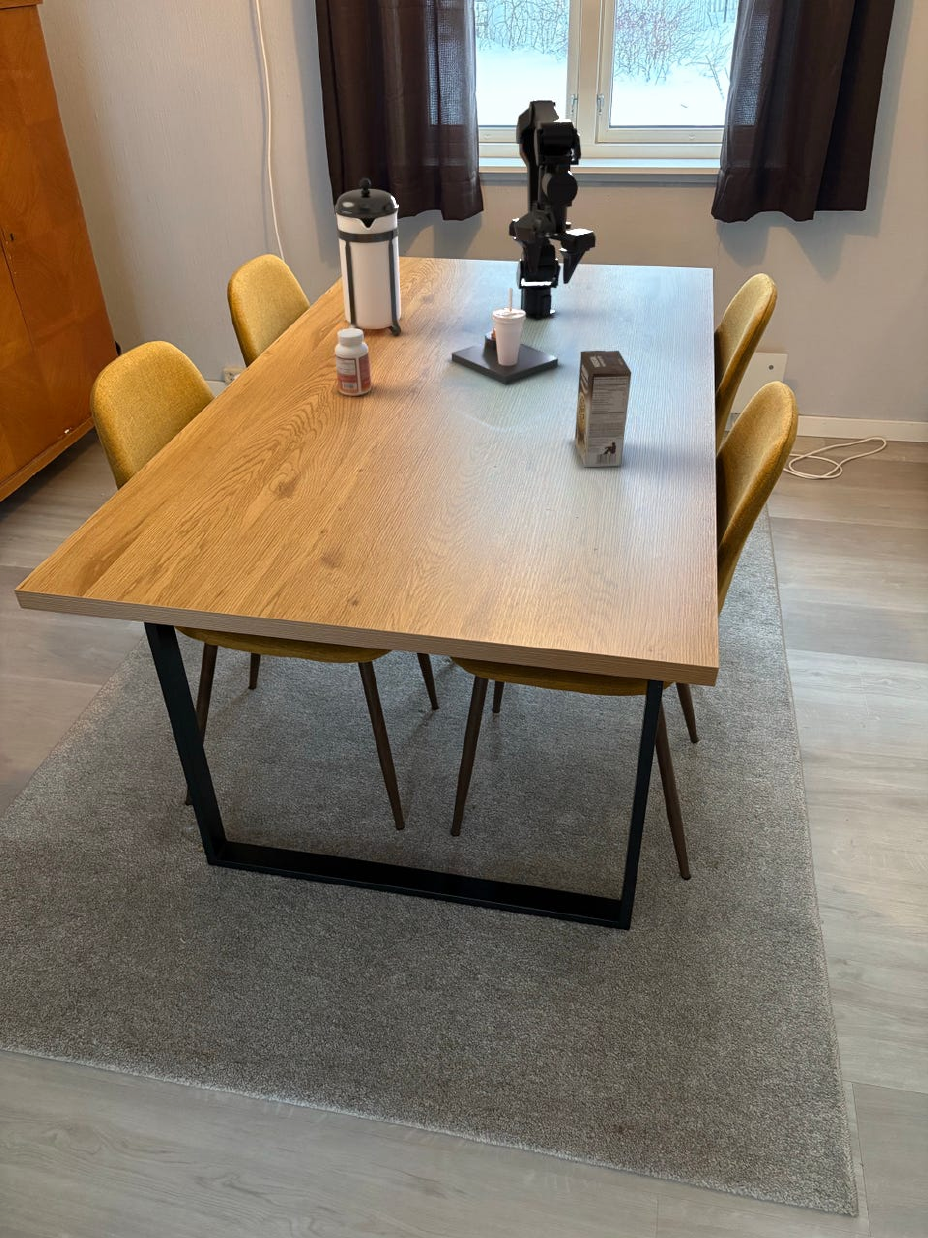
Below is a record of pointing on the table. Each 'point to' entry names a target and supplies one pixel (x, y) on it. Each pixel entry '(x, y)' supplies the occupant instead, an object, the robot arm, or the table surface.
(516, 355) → the smoothie
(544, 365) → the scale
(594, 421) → the coffee box
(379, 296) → the coffee press
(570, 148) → the robot arm
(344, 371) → the pill bottle
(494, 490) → the table surface
